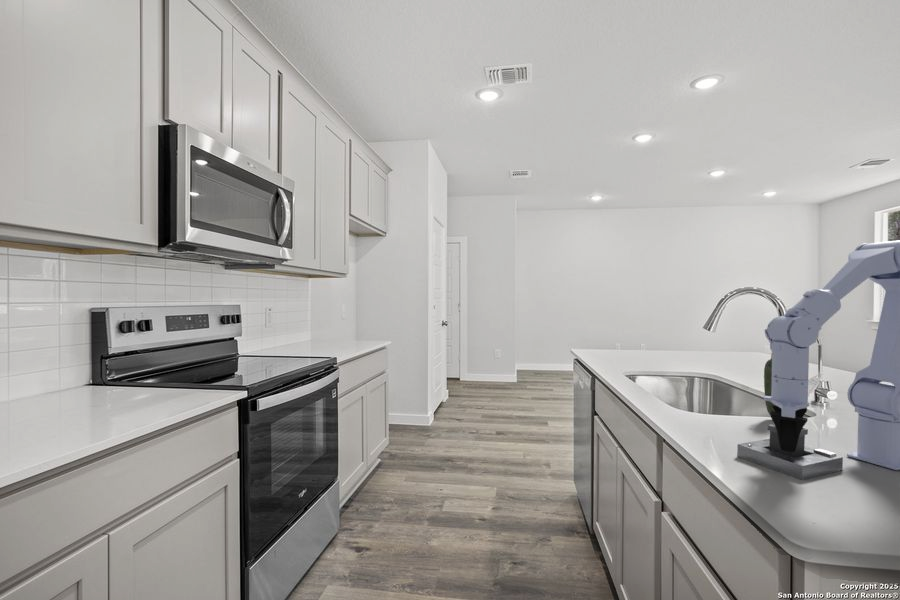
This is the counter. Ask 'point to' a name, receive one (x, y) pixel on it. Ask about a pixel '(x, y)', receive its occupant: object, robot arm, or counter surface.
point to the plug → (776, 446)
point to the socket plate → (791, 460)
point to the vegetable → (768, 383)
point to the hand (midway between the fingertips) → (788, 445)
